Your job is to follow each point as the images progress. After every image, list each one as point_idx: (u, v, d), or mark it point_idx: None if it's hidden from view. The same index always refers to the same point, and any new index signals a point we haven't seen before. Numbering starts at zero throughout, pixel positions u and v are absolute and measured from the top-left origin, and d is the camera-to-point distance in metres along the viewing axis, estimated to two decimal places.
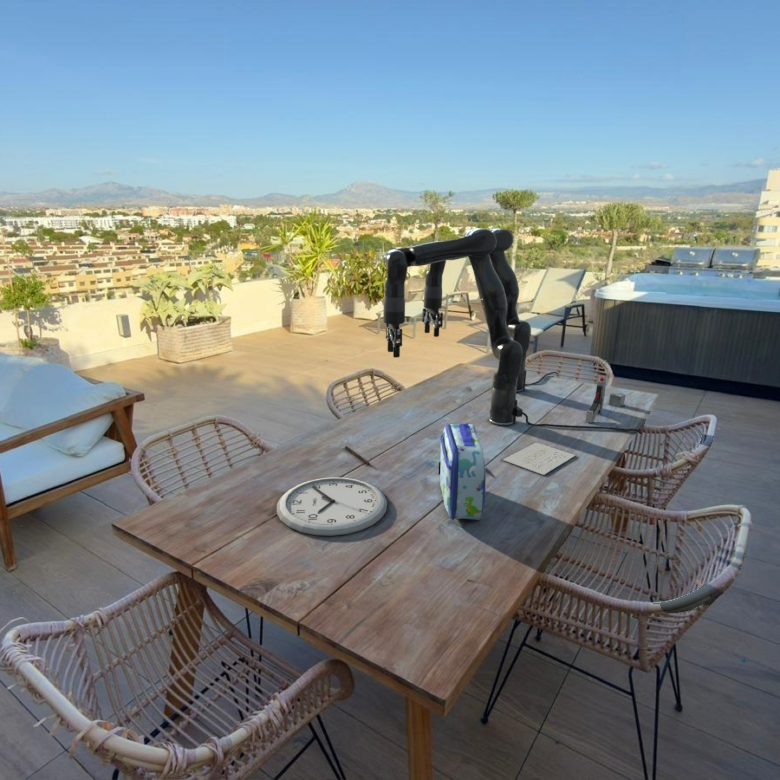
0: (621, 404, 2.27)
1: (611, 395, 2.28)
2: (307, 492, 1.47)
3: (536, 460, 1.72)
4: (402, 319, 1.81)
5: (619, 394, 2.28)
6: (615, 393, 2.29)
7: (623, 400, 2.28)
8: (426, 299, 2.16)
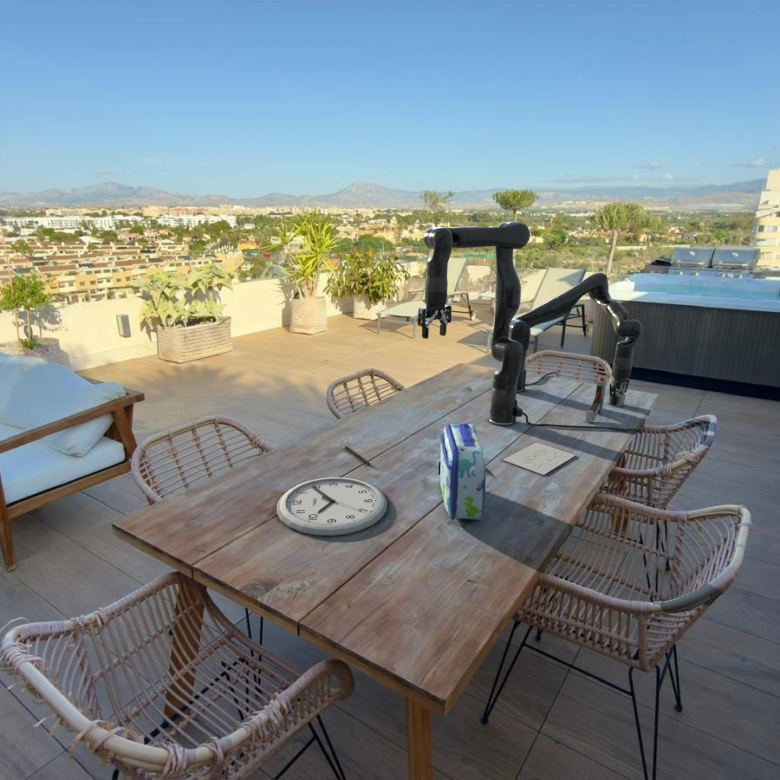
0: (621, 404, 2.27)
1: None
2: (307, 492, 1.47)
3: (536, 460, 1.72)
4: (434, 300, 1.73)
5: (619, 394, 2.28)
6: None
7: (623, 400, 2.28)
8: None
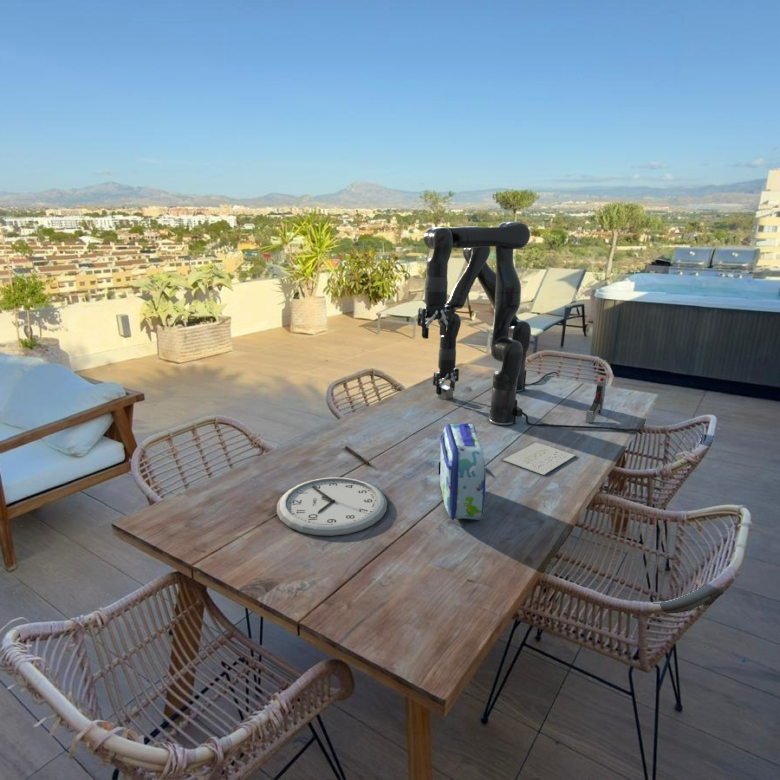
0: (448, 397, 2.33)
1: None
2: (307, 492, 1.47)
3: (536, 460, 1.72)
4: (434, 300, 1.73)
5: (447, 387, 2.33)
6: (444, 386, 2.34)
7: (451, 393, 2.33)
8: None
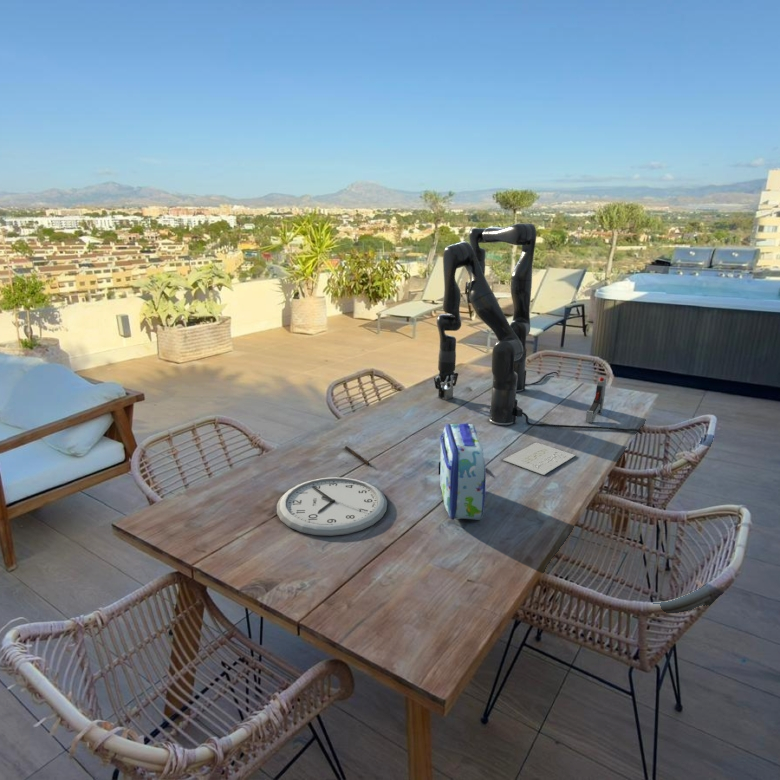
0: (448, 397, 2.33)
1: None
2: (307, 492, 1.47)
3: (536, 460, 1.72)
4: (445, 368, 2.27)
5: (447, 387, 2.33)
6: None
7: (451, 393, 2.33)
8: None
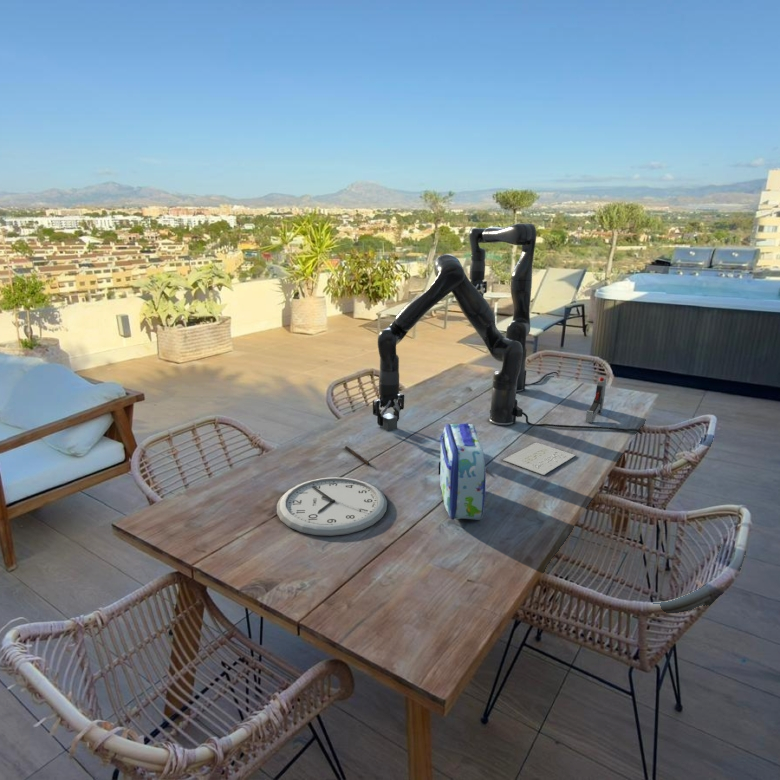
0: (391, 428, 1.96)
1: None
2: (307, 492, 1.47)
3: (536, 460, 1.72)
4: (386, 392, 1.90)
5: (390, 416, 1.96)
6: (387, 415, 1.98)
7: (394, 423, 1.96)
8: None
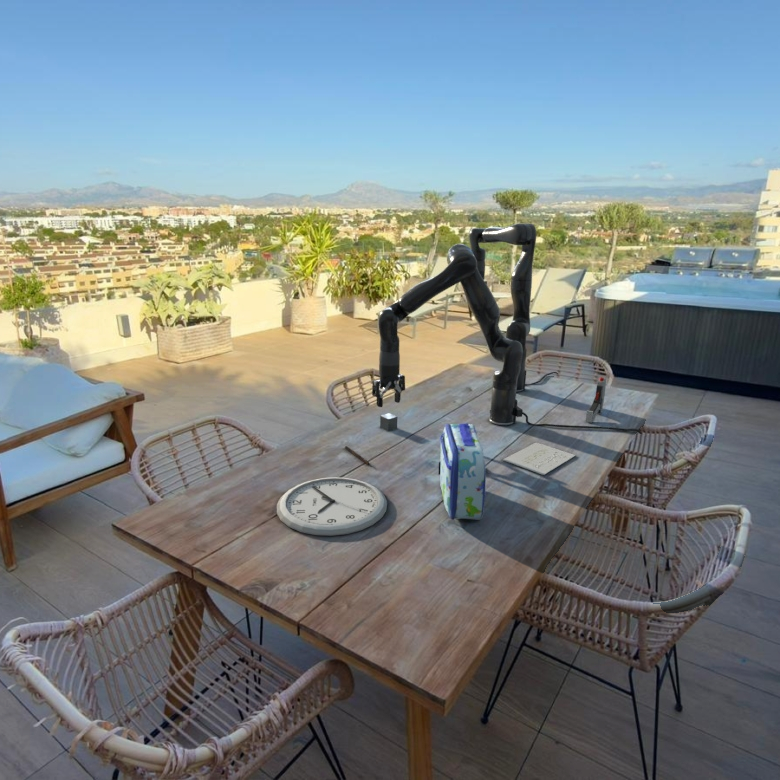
0: (391, 428, 1.96)
1: (381, 417, 1.97)
2: (307, 492, 1.47)
3: (536, 460, 1.72)
4: (387, 373, 1.88)
5: (390, 416, 1.96)
6: (387, 415, 1.98)
7: (394, 423, 1.96)
8: None
